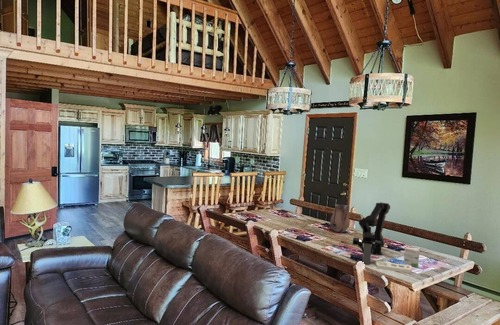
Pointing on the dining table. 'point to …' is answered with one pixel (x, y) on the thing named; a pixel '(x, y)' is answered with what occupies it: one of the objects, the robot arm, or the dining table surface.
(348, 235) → the dining table surface
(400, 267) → the power strip
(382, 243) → the robot arm
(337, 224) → the ceramic pitcher
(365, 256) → the charger plug
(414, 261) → the ink box
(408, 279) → the dining table surface
